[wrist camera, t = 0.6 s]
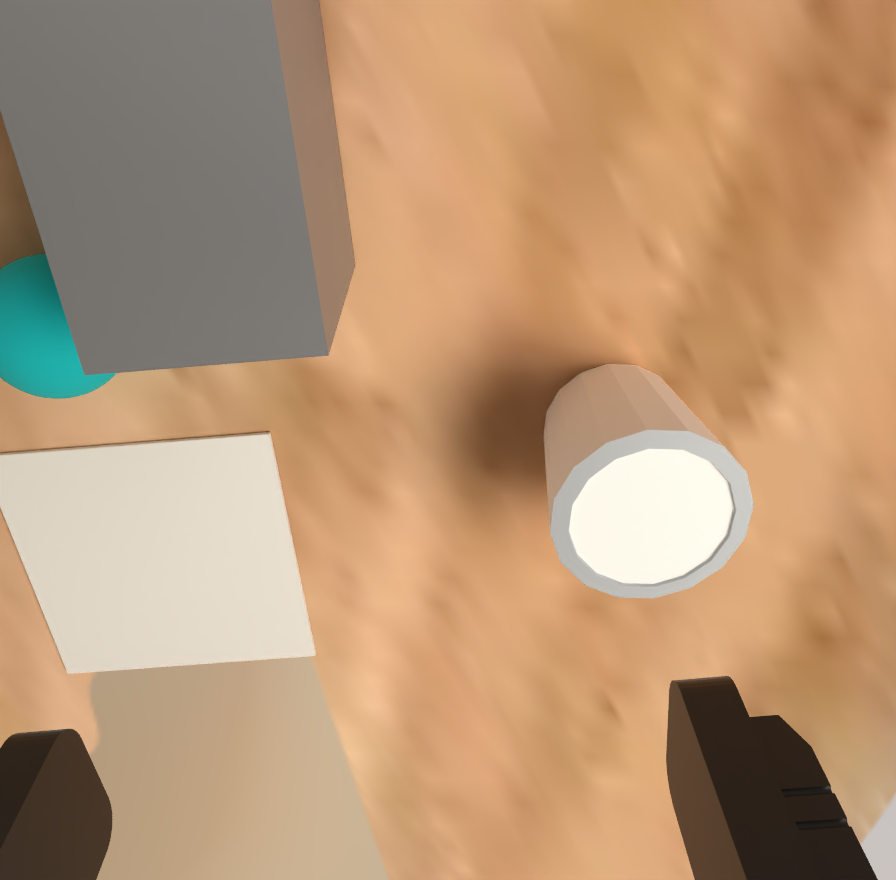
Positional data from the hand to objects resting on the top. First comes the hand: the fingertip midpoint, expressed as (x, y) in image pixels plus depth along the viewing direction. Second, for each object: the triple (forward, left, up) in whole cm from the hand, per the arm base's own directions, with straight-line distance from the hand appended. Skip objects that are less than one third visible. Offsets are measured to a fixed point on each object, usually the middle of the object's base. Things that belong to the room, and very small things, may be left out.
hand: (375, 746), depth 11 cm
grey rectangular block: (-6, -6, -22) cm, 23 cm away
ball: (0, -13, -19) cm, 23 cm away
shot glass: (+7, +7, -22) cm, 24 cm away
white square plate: (+12, -13, -22) cm, 28 cm away
